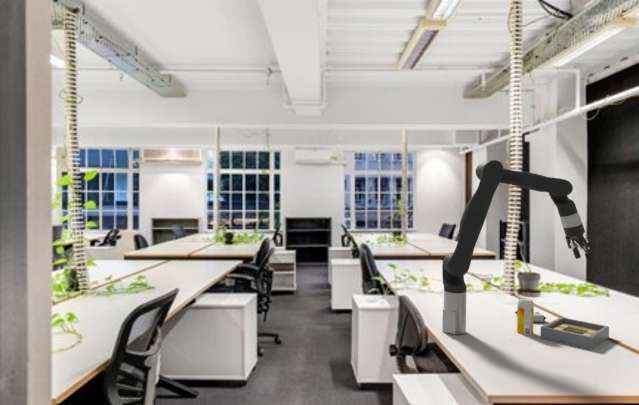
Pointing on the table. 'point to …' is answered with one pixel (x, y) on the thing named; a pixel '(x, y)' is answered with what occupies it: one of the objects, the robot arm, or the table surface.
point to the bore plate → (575, 329)
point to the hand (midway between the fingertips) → (584, 259)
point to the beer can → (525, 316)
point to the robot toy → (537, 317)
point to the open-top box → (573, 338)
